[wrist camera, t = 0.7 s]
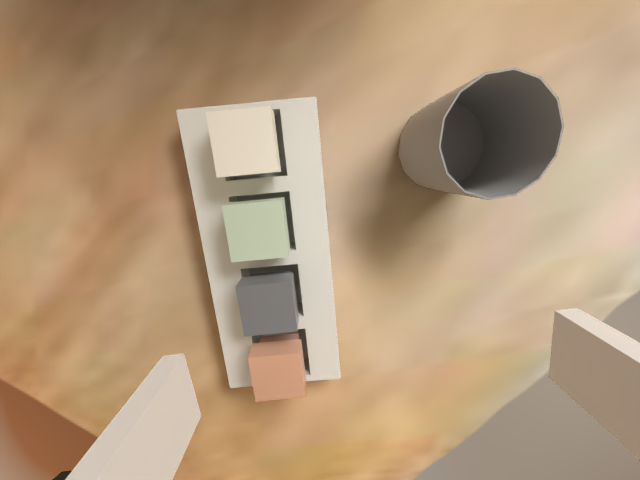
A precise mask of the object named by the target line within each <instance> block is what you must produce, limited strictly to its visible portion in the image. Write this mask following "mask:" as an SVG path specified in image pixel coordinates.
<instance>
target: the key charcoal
mask: <svg viewBox="0 0 640 480" xmlns="http://www.w3.org/2000/svg"><path fill="white" fill-rule="evenodd" d="M236 292H237V298H238V304H239V310H240V315H241V321H242V327H243V333H244V337H245V336H256V335H267V334H278V333H288V332H297V331H298V322H299V316H298V308H297V300H296V291H295V283H294V275H293V272H292V273H291V270H289V271H278V272H267V273H257V274H251V275H250V276H249V277H242V278H241V279H240V281H239V282H238V284H237V285H236Z"/></svg>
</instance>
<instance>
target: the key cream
mask: <svg viewBox="0 0 640 480" xmlns="http://www.w3.org/2000/svg"><path fill="white" fill-rule="evenodd" d="M206 118H207V124H208V129H209V135H210V141H211V147H212V153H213V158H214V164H215V170H216V176H217V178H218V177H229V176H239V175H250V174H260V173H271V172H281V167H280V158H279V150H278V142H277V133H276V125H275V117H274V111H273V110H272V108H271V107H270V106H263V107H252V108H242V109H231V110H221V111H211V112H206Z"/></svg>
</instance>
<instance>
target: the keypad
mask: <svg viewBox="0 0 640 480" xmlns="http://www.w3.org/2000/svg"><path fill="white" fill-rule="evenodd" d="M263 106H270V107H271V108H272V110H273V111H274V117H275V125H276V133H277V142H278V150H279V158H280V167H281V172H271V173H260V174H250V175H239V176H229V177H218V178H217V176H216V170H215V164H214V158H213V153H212V147H211V141H210V135H209V129H208V124H207V118H206V112H211V111H221V110H231V109H242V108H252V107H263ZM176 112H177V117H178V123H179V128H180V133H181V138H182V143H183V148H184V154H185V159H186V164H187V169H188V174H189V179H190V184H191V190H192V195H193V200H194V205H195V210H196V215H197V221H198V226H199V231H200V236H201V241H202V246H203V252H204V257H205V262H206V267H207V272H208V277H209V282H210V288H211V293H212V298H213V303H214V308H215V313H216V319H217V324H218V329H219V334H220V339H221V344H222V349H223V355H224V360H225V365H226V370H227V375H228V380H229V386H230V388H239V387H250V386H253V385H252V379H251V374H250V368H249V362H248V356H249V353H250V350H251V348H252V345H253V343H259V341H260V337H261V336H272V335H282V334H293V333H299V339H301V341H302V350H303V358H304V366H305V375H306V381H316V380H327V379H338V378H341V374H340V362H339V351H338V339H337V328H336V316H335V305H334V294H333V282H332V271H331V259H330V248H329V236H328V225H327V213H326V202H325V190H324V179H323V167H322V156H321V144H320V133H319V121H318V110H317V98H316V96H315V97H304V98H294V99H283V100H273V101H263V102H252V103H242V104H231V105H221V106H211V107H200V108H190V109H179V110H176ZM281 197H284V200H285V208H286V216H287V225H288V233H289V241H290V253H289V256H288V257H285V258H274V259H263V260H252V261H242V262H231V257H230V251H229V246H228V240H227V234H226V228H225V222H224V217H223V211H222V205H224V204H227V203H229V202H239V201H249V200H260V199H270V198H281ZM289 270H291V273H292V272H293V275H294V283H295V291H296V300H297V308H298V316H299V322H298V331H297V332H288V333H278V334H267V335H256V336H245V337H244V333H243V327H242V321H241V315H240V310H239V304H238V298H237V292H236V285H237V284H238V282H239V281H240V279H241V278H242V277H249V276H250V275H251V274H257V273H267V272H278V271H289Z"/></svg>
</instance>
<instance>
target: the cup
mask: <svg viewBox="0 0 640 480" xmlns="http://www.w3.org/2000/svg"><path fill="white" fill-rule="evenodd" d="M563 128H564V124H563V119H562V113H561V108H560V103H559V98H558V97H557V96H556V94H555V93H554V92H553V91H552V90H551V88H550V87H549V86H548V85H547V84H546V82H545V81H544V80H543V79H542V77H540V76H537V75H534V74H531V73H529V72H526V71H523V70H520V69H517V68H509V69H504V70H498V71H492V72H487V73H484V74H482V75H480V76H479V77H477V78H475V79H473V80H471V81H470V82H468V83H466V84H464V85H462V86H461V87H459V88H457V89H455V90H454V91H452V92H450V93H448V94H446V95H445V96H443V97H441V98H439V99H437V100H436V101H434V102H432V103H430V104H429V105H427V106H425V107H424V108H423V109H421V110H420V111H418V112H417V113H416V114H414V115H413V116H412V117H411V118H410V119H409V121H408V123H407V124H406V126H405V128H404V129H403V131H402V133H401V135H400V142H399V151H398V156H399V159H400V162H401V165H402V168H403V171H404V173H405V174H406V175H407V176H408V177H409V178H410V179H411V180H412V181H413V182H414V183H415V184H416V185H420V186H423V187H426V188H429V189H433V190H438V191H443V192H449V193H454V194H460V195H465V196H471V197H476V198H482V199H487V200H491V199H497V198H503V197H509V196H515V195H517V194H518V193H520V192H521V191H523V190H524V189H526V188H528V187H529V186H531V185H532V184H534V183H535V182H537V181H538V180H540V178H541V177H542V176H543V174H544V173H545V171H546V170H547V169H548V167H549V166H550V164H551V163H552V162H553V160H554V159H555V157H556V156H557V153H558V149H559V145H560V141H561V137H562V132H563Z"/></svg>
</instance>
